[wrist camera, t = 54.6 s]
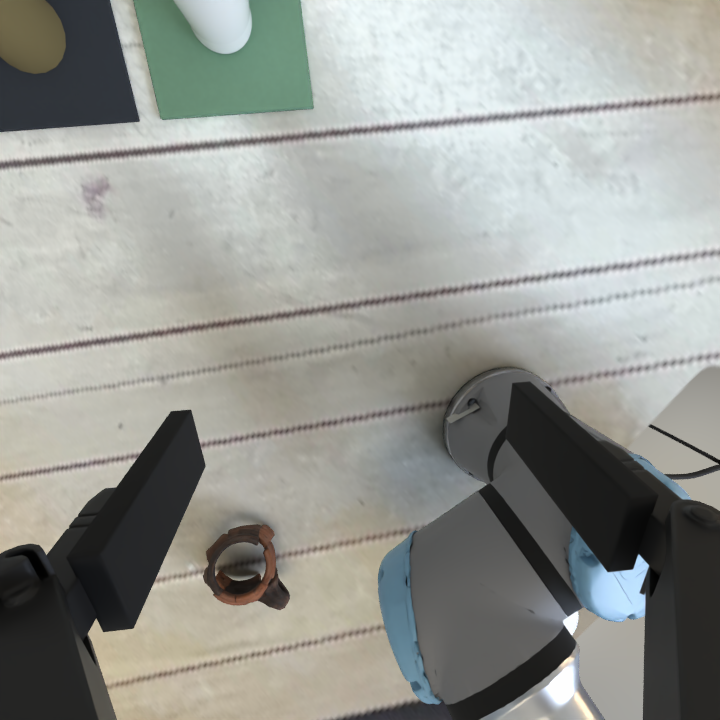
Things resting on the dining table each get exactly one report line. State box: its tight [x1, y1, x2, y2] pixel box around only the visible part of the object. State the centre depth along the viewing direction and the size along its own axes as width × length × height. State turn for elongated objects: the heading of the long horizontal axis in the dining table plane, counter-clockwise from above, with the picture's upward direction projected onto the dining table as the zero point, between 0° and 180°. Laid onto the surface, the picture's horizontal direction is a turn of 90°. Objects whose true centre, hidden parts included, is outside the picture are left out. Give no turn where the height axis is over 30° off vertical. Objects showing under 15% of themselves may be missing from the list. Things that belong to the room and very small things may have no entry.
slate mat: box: [0, 0, 139, 132], centre depth 32 cm, size 14×14×1 cm
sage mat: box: [133, 0, 313, 120], centre depth 33 cm, size 14×14×1 cm
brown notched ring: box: [203, 524, 290, 610], centre depth 47 cm, size 12×10×8 cm
